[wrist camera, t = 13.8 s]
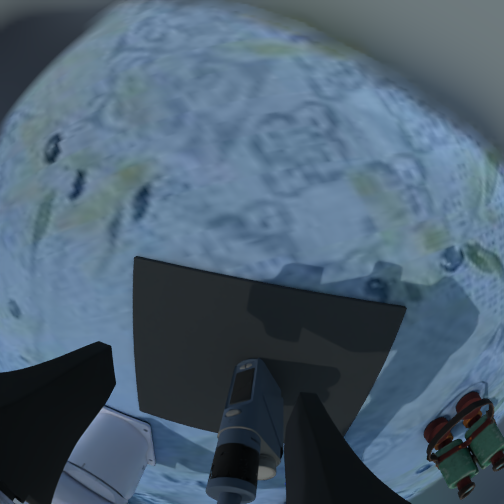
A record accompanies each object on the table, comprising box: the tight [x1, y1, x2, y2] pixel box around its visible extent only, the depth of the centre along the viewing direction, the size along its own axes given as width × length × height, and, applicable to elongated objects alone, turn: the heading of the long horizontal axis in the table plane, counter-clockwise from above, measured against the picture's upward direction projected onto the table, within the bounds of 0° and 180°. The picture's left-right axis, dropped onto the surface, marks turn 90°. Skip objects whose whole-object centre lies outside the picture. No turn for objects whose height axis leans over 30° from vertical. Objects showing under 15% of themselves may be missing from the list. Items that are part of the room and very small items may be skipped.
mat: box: [133, 256, 407, 443], centre depth 20 cm, size 16×20×1 cm
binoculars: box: [424, 392, 504, 500], centre depth 15 cm, size 9×11×10 cm
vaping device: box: [206, 358, 283, 504], centre depth 14 cm, size 3×5×12 cm, turn 26°
